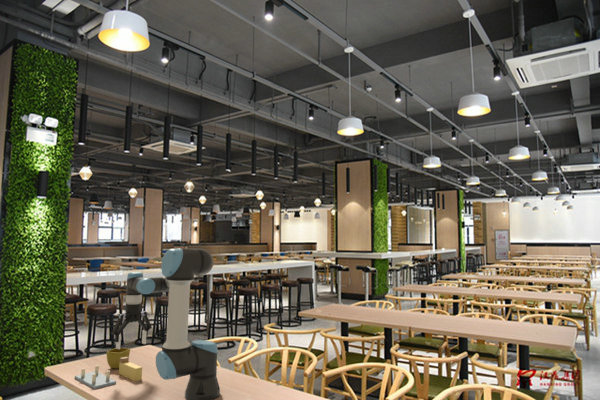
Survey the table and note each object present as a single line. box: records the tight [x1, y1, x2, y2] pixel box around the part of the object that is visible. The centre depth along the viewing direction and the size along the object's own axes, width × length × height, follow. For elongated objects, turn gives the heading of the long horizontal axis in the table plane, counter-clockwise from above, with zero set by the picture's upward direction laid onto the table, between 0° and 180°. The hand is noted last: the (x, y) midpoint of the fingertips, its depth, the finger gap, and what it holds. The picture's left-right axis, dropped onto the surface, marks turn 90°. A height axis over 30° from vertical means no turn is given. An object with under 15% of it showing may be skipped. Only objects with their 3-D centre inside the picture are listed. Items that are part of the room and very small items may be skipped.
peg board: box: [74, 365, 117, 390], centre depth 199 cm, size 22×10×5 cm, turn 50°
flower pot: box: [106, 347, 131, 370], centre depth 221 cm, size 9×9×9 cm
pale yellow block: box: [118, 357, 143, 382], centre depth 206 cm, size 16×4×8 cm, turn 50°
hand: (131, 346), depth 207 cm, fingers open, 13 cm apart
